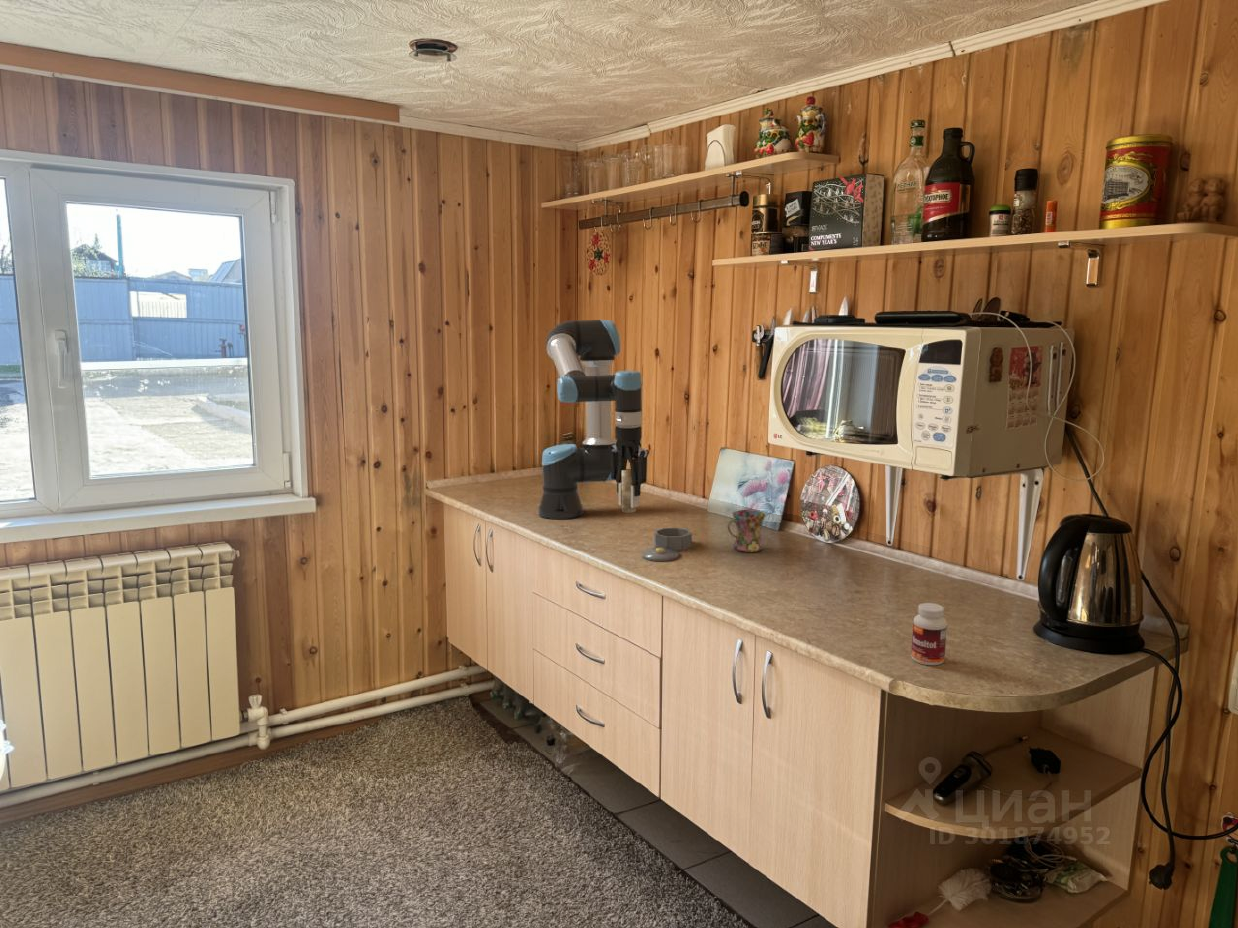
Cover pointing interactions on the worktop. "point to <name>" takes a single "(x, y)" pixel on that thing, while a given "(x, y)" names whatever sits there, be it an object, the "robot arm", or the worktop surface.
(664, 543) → the candle jar
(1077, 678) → the worktop surface
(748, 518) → the mug
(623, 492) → the dowel
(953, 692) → the worktop surface
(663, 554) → the jar lid
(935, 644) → the pill bottle
